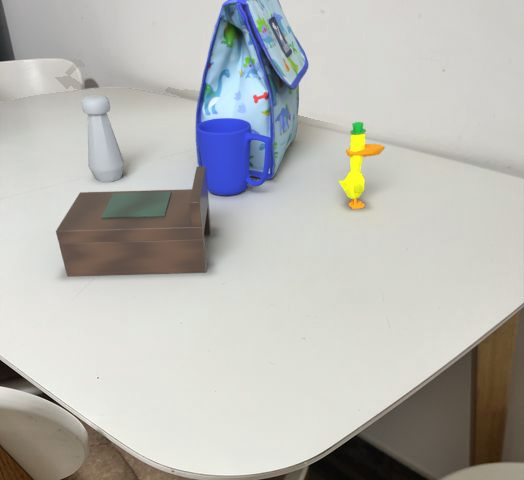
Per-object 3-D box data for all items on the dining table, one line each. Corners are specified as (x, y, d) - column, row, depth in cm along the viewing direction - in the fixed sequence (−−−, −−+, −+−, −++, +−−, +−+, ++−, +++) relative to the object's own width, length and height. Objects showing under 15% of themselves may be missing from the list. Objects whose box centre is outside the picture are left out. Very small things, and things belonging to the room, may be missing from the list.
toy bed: (67, 276, 70) (49, 206, 64) (89, 233, 79) (74, 169, 74) (206, 272, 70) (199, 202, 64) (211, 230, 79) (205, 166, 74)
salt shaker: (102, 186, 93) (86, 102, 86) (85, 178, 97) (68, 96, 89) (132, 177, 97) (119, 96, 89) (115, 169, 100) (101, 90, 92)
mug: (257, 207, 85) (256, 139, 79) (191, 194, 90) (185, 129, 84) (283, 189, 91) (283, 124, 85) (219, 177, 96) (215, 115, 90)
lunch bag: (290, 182, 93) (292, -4, 78) (193, 177, 96) (176, -4, 80) (309, 141, 110) (313, -18, 95) (226, 138, 113) (217, -17, 98)
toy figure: (373, 198, 87) (381, 116, 80) (383, 207, 84) (392, 123, 77) (331, 204, 86) (336, 121, 78) (341, 213, 83) (346, 128, 76)
